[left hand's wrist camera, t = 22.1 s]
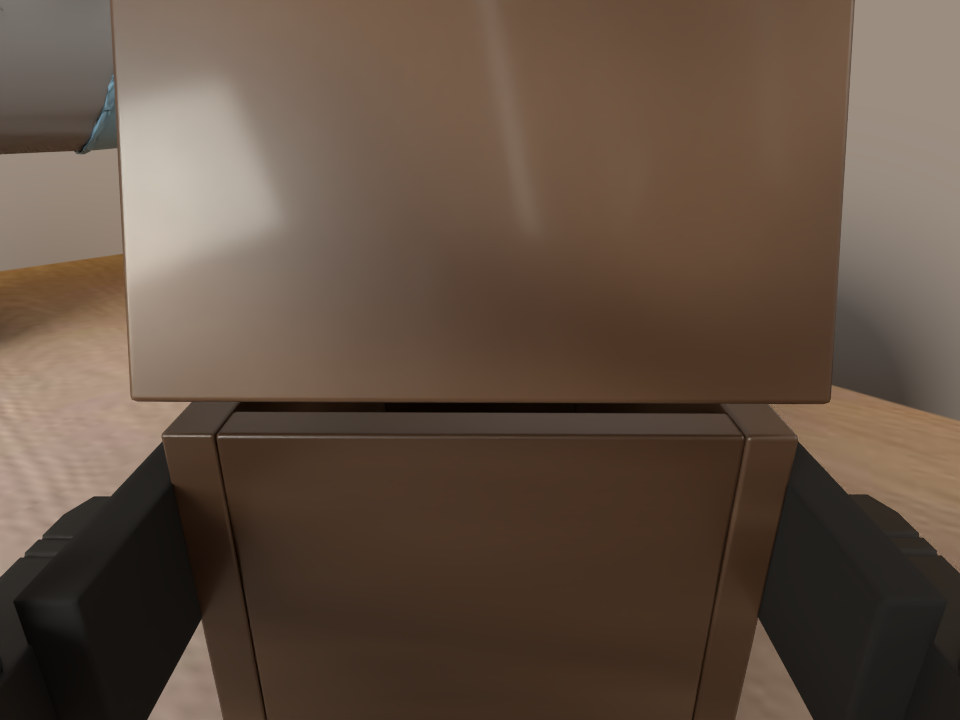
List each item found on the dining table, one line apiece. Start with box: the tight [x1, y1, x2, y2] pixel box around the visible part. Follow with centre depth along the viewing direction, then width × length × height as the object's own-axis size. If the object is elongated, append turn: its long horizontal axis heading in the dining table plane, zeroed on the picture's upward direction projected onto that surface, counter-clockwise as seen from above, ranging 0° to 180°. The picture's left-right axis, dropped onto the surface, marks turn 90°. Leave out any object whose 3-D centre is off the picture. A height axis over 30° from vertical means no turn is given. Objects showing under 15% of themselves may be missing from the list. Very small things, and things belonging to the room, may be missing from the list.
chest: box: [162, 402, 798, 720], centre depth 19 cm, size 16×10×9 cm, turn 0°
